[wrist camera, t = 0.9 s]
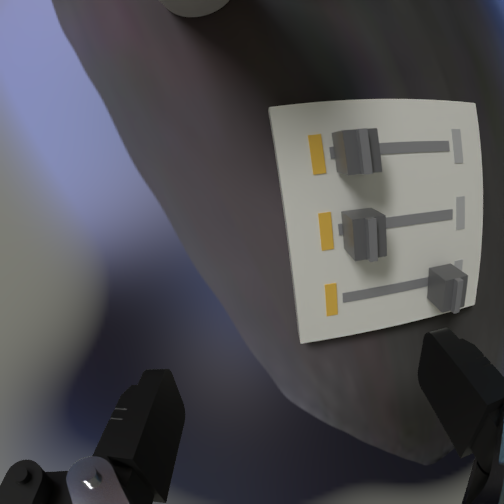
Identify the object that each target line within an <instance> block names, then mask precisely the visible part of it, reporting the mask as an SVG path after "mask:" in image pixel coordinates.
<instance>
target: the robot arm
mask: <svg viewBox="0 0 504 504" xmlns="http://www.w3.org/2000/svg"><path fill="white" fill-rule="evenodd" d="M418 381H419V384H420V387H421V389H422V391H423V392H424V394H425V396H426V397H427V399H428V401H429V402H430V404H431V406H432V408H433V409H434V411H435V413H436V415H437V416H438V418H439V420H440V422H441V423H442V425H443V427H444V429H445V431H446V432H447V434H448V436H449V438H450V440H451V442H452V443H453V445H454V447H455V449H456V451H457V453H458V455H459V456H460V458H463V457H465V456H467V455H469V454H472V453H473V454H474V455H475V457H476V458H475V460H474V462H473V465H472V469H471V473H470V477H469V481H468V485H467V488H466V492H465V494H464V498H463V501H462V504H504V377H503V376H502V375H501V374H500V372H499V371H498V370H497V369H496V368H495V367H494V366H493V365H491V364H490V361H489V360H488V359H487V358H486V357H484V355H483V353H482V352H481V351H480V350H479V349H478V348H477V347H476V346H475V345H473V344H472V343H470V342H468V341H466V340H464V339H459V338H458V337H457V336H456V335H455V334H454V333H453V332H452V331H451V330H450V329H449V328H443V329H439V330H435V331H432V332H428V333H426V334H425V336H424V339H423V345H422V351H421V357H420V362H419V367H418ZM115 408H116V409H115V410H114V411H113V413H112V415H111V420H109V421H108V424H107V426H106V428H105V430H104V432H103V434H102V436H101V439H100V441H99V443H98V445H97V447H96V449H95V452H94V454H93V456H90V457H85V458H82V459H80V460H78V461H77V462H75V463H74V464H73V465H72V466H71V467H70V469H69V471H59V472H45V471H44V470H43V469H42V468H41V467H40V466H39V465H38V464H37V463H36V462H34V461H32V460H22V461H19V462H17V463H15V464H14V465H13V466H11V467H10V469H9V470H8V472H7V473H6V475H5V477H4V479H3V481H2V483H1V485H0V504H152V503H153V501H154V502H163V503H166V501H167V496H168V491H169V487H170V483H171V478H172V474H173V469H174V465H175V461H176V456H177V452H178V448H179V443H180V439H181V434H182V430H183V426H184V422H185V408H184V404H183V401H182V399H181V396H180V394H179V391H178V388H177V385H176V383H175V380H174V377H173V375H172V373H171V371H170V370H169V369H152V370H151V369H149V370H145V371H144V372H143V374H142V377H141V379H140V381H139V383H138V385H131V386H130V387H129V388H128V389H127V390H126V391H125V392H124V393H123V394H122V395H121V396H120V399H119V401H118V403H117V405H116V407H115Z"/></svg>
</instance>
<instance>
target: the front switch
mask: <svg viewBox="0 0 504 504" xmlns="http://www.w3.org/2000/svg"><path fill="white" fill-rule="evenodd" d="M332 140H333V147H334V154H335V162H336V170H337V173H341V174H345V175H357V174H363V175H367V174H373V173H377V172H382V163H381V154H380V146H379V138H378V131H377V128H370V129H367V128H363V129H354V130H341V131H337V132H333V133H332Z"/></svg>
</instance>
